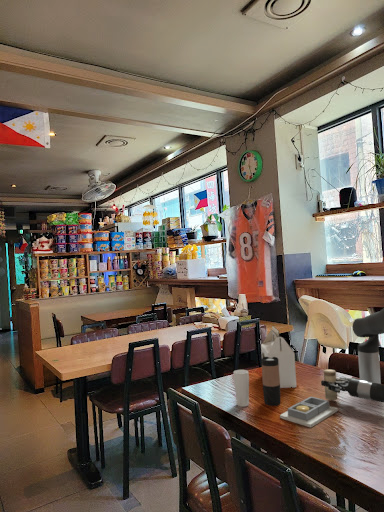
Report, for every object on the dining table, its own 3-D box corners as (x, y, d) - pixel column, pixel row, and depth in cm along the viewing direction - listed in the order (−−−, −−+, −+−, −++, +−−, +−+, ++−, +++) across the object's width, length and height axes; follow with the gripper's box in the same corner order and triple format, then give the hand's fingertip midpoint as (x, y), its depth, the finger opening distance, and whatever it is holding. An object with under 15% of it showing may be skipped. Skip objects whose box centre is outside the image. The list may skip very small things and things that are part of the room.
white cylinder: (234, 403, 177) (232, 370, 177) (248, 401, 178) (246, 369, 178) (237, 408, 170) (234, 374, 170) (252, 407, 171) (250, 373, 171)
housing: (307, 403, 172) (307, 393, 172) (337, 410, 161) (337, 401, 161) (280, 417, 158) (279, 408, 158) (310, 427, 147) (310, 417, 147)
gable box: (262, 375, 215) (259, 325, 216) (286, 374, 215) (283, 324, 215) (270, 389, 193) (266, 332, 193) (296, 387, 193) (293, 331, 193)
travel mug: (271, 407, 169) (268, 361, 169) (260, 402, 176) (257, 358, 176) (284, 403, 173) (282, 358, 173) (273, 398, 179) (271, 355, 180)
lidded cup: (326, 395, 176) (324, 369, 176) (337, 396, 173) (336, 369, 174) (324, 399, 171) (323, 372, 171) (336, 400, 169) (335, 373, 169)
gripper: (369, 375, 166) (332, 369, 179) (353, 384, 157) (315, 376, 169) (370, 393, 166) (333, 385, 179) (355, 403, 157) (316, 393, 169)
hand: (324, 381), depth 174 cm, fingers closed on lidded cup, 5 cm apart
